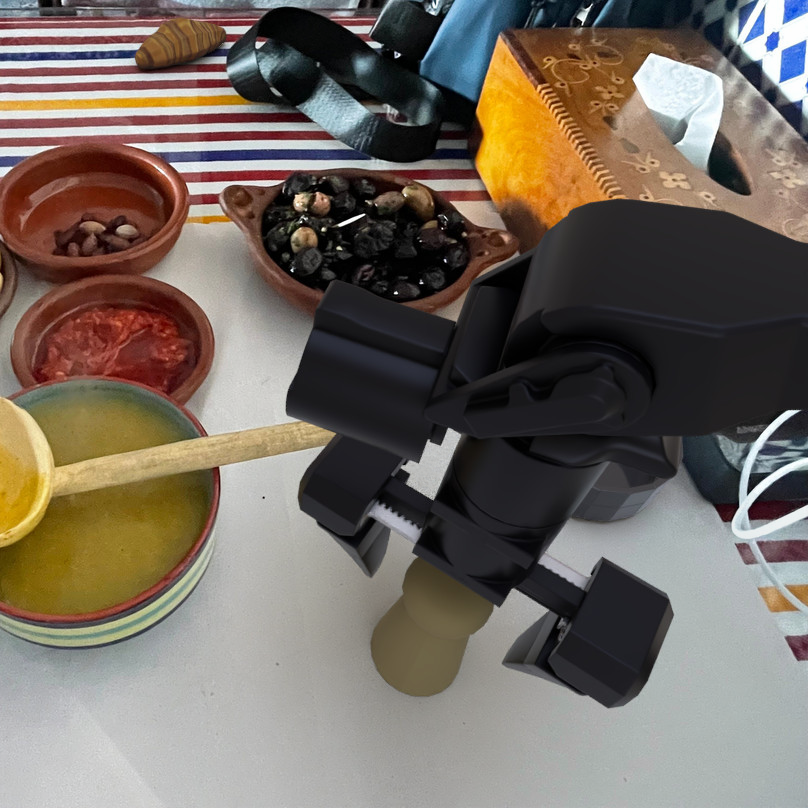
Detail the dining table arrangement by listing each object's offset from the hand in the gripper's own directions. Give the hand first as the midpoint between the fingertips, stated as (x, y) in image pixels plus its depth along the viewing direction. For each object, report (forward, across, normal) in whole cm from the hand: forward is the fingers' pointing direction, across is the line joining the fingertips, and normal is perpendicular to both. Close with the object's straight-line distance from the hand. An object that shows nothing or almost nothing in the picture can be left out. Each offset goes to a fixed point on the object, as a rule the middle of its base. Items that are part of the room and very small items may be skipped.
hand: (438, 613), depth 46 cm
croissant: (+6, +62, -50) cm, 80 cm away
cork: (+6, 0, 0) cm, 7 cm away
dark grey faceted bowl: (+6, -3, -22) cm, 23 cm away
